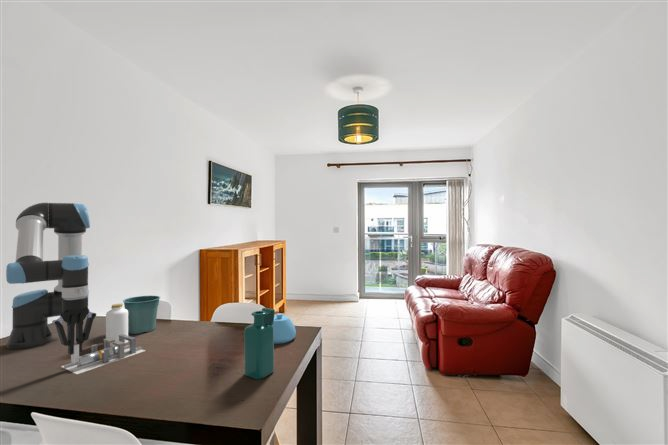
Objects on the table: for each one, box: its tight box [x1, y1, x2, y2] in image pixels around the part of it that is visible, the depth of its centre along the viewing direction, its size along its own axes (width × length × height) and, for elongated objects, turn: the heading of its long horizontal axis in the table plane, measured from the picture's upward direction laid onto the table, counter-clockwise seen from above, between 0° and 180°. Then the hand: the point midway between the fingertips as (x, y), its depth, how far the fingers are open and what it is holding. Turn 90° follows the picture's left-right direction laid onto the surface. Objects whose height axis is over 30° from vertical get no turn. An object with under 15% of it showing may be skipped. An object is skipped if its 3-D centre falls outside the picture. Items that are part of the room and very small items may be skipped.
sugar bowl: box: [272, 312, 297, 345], centre depth 148 cm, size 15×15×12 cm
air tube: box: [76, 345, 118, 367], centre depth 123 cm, size 14×4×4 cm, turn 150°
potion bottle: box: [105, 303, 129, 347], centre depth 142 cm, size 8×8×18 cm
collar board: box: [60, 334, 146, 375], centre depth 125 cm, size 13×24×7 cm, turn 150°
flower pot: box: [122, 295, 161, 335], centre depth 162 cm, size 16×16×16 cm
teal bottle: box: [243, 307, 276, 380], centre depth 114 cm, size 10×8×22 cm
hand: (75, 361), depth 117 cm, fingers closed
